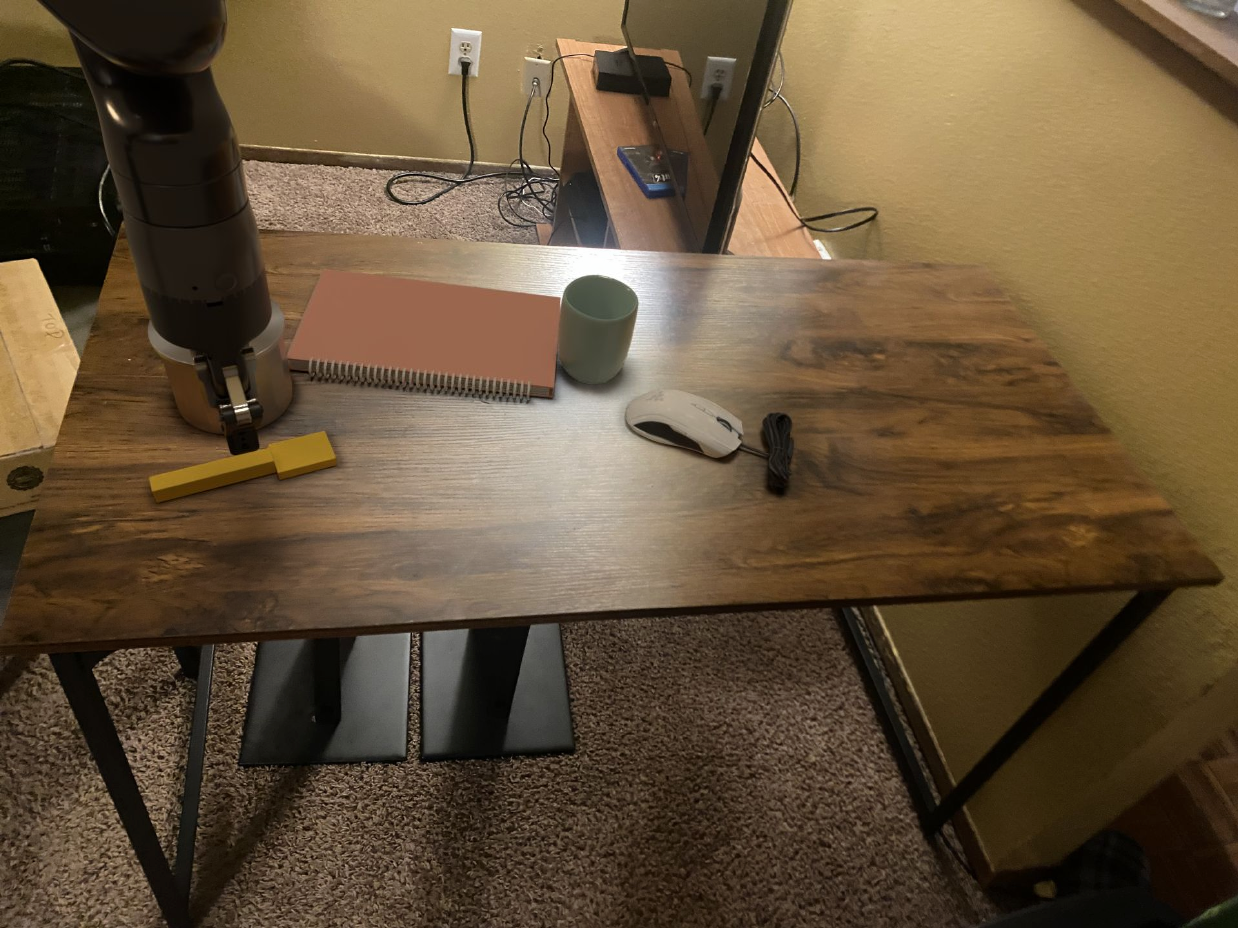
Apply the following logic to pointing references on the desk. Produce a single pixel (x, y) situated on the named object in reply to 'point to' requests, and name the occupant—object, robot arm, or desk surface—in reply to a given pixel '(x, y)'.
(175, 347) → the pot lid
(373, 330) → the notebook
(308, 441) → the stepped yellow stick
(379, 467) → the desk surface
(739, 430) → the computer mouse
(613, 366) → the cup
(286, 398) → the pot
